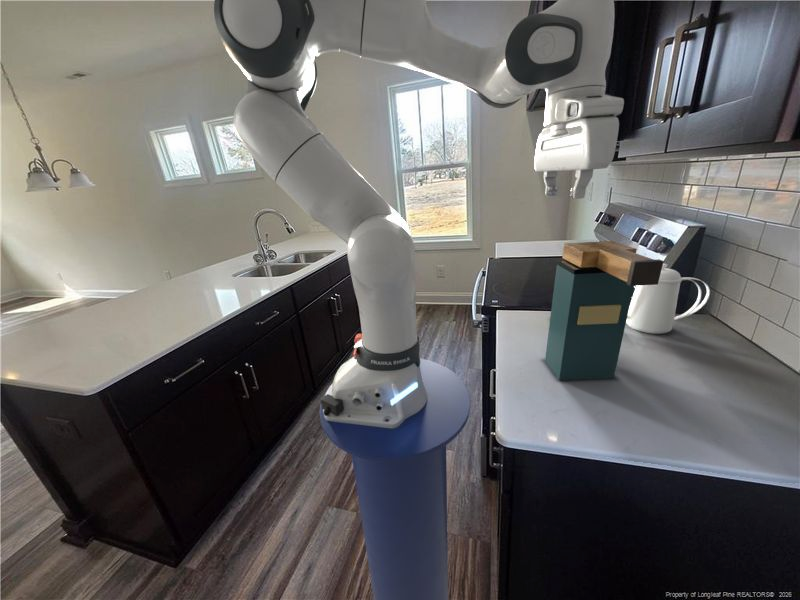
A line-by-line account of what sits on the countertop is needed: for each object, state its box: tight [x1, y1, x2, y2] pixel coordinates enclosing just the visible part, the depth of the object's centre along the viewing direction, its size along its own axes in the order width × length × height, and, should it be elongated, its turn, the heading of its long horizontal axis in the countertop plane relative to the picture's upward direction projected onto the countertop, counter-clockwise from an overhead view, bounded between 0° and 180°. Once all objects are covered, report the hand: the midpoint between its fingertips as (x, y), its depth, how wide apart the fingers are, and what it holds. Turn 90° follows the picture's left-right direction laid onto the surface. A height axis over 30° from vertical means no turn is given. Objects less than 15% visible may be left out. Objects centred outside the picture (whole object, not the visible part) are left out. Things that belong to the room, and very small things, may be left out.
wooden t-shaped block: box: [561, 240, 664, 287], centre depth 60 cm, size 10×18×4 cm, turn 178°
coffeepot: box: [626, 262, 711, 335], centre depth 88 cm, size 11×25×19 cm, turn 74°
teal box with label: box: [544, 258, 635, 381], centre depth 70 cm, size 13×9×26 cm
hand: (563, 196), depth 59 cm, fingers open, 8 cm apart
